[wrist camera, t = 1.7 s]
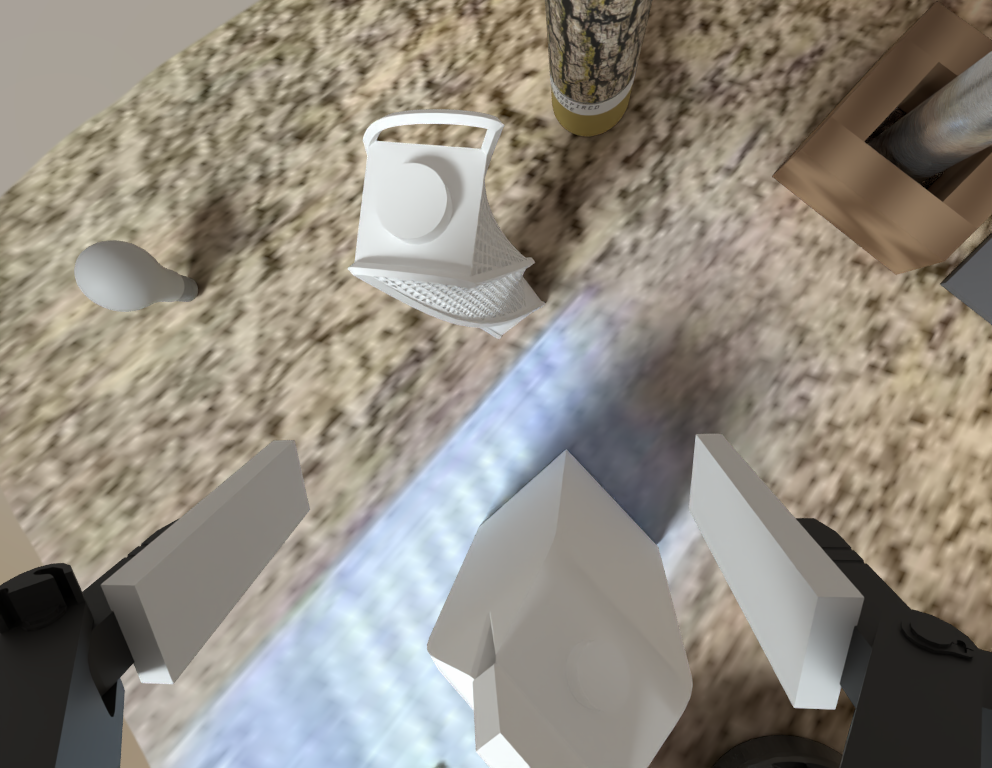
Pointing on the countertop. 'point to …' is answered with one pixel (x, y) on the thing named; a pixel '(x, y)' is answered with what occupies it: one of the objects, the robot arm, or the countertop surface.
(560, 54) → the bark-print cylinder
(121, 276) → the lightbulb
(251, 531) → the robot arm
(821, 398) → the countertop surface
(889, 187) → the housing
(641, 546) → the milk
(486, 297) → the skyscraper
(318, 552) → the countertop surface
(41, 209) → the countertop surface
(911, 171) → the teal-capped metal cylinder
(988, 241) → the mat
